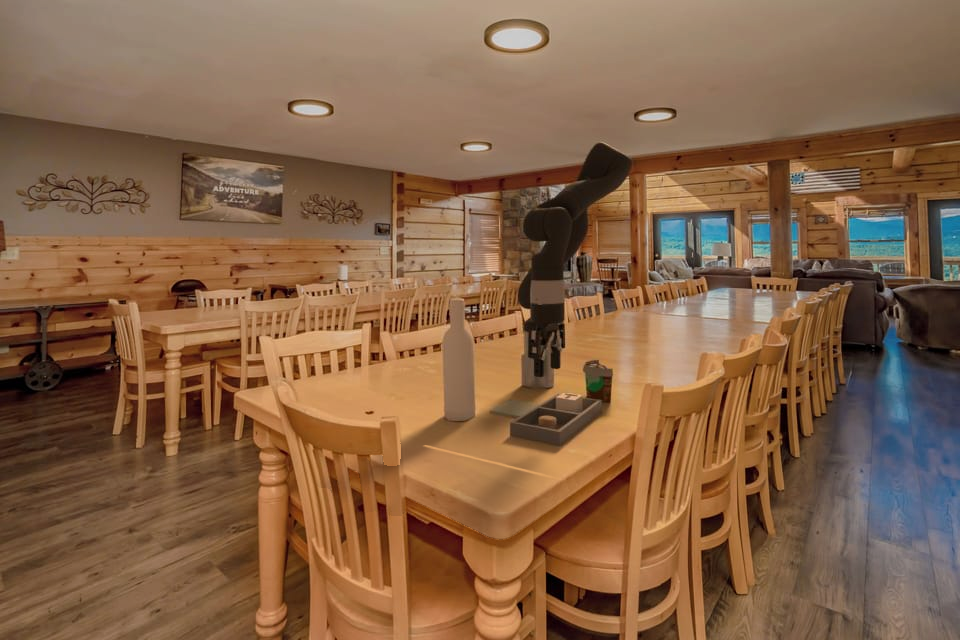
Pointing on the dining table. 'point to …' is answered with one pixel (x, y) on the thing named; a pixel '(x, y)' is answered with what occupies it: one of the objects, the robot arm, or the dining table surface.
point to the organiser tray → (565, 422)
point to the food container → (598, 381)
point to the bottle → (458, 366)
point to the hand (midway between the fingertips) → (547, 372)
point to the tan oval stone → (547, 422)
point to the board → (513, 408)
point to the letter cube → (569, 402)
